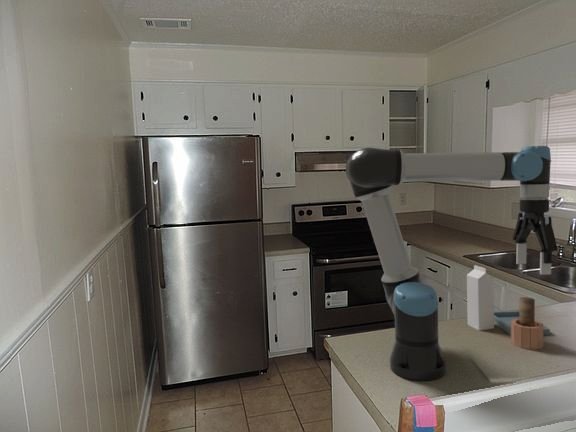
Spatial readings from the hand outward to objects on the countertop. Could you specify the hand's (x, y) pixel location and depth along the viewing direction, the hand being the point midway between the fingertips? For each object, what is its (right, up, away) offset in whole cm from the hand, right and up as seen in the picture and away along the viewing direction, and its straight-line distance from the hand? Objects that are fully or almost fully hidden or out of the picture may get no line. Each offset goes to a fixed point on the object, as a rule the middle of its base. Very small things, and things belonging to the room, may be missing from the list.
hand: (532, 268), depth 122 cm
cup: (0, -24, +2) cm, 24 cm away
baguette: (0, -23, +2) cm, 23 cm away
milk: (-7, -23, +18) cm, 30 cm away
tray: (+5, -23, +17) cm, 28 cm away
